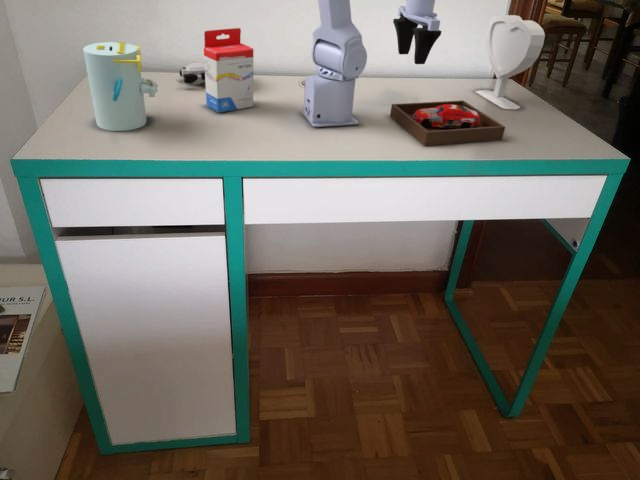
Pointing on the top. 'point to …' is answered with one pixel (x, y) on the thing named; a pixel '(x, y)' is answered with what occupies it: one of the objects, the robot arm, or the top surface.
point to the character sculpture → (117, 85)
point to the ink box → (228, 71)
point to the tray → (442, 136)
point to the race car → (447, 117)
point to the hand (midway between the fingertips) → (411, 58)
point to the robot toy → (192, 74)
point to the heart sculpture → (510, 52)
